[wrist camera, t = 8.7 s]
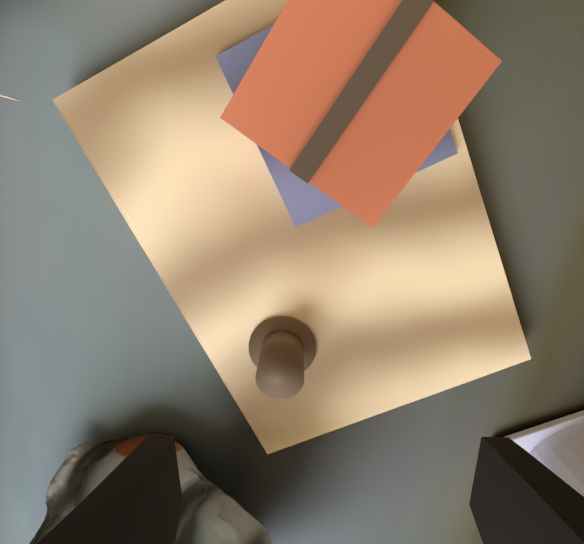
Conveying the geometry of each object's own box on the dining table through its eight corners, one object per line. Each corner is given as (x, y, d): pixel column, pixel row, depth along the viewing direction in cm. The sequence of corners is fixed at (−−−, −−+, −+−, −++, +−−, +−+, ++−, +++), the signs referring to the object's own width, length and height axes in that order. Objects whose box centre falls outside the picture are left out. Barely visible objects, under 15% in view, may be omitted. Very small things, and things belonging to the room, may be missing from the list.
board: (516, 346, 18) (570, 393, 15) (269, 437, 20) (263, 498, 17) (384, -75, 13) (416, -161, 10) (71, 103, 15) (0, 87, 12)
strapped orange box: (348, 205, 15) (372, 230, 10) (245, 131, 14) (217, 118, 9) (431, 92, 14) (508, 57, 9) (323, 3, 13) (339, -93, 8)
